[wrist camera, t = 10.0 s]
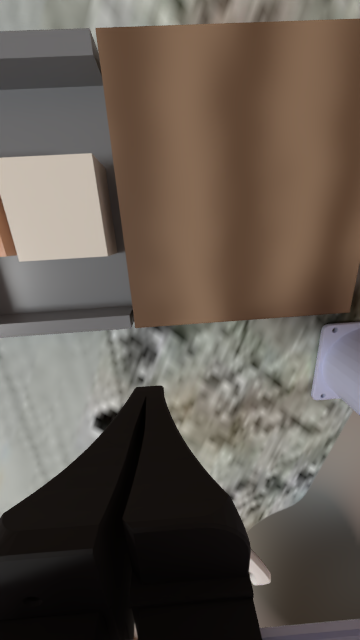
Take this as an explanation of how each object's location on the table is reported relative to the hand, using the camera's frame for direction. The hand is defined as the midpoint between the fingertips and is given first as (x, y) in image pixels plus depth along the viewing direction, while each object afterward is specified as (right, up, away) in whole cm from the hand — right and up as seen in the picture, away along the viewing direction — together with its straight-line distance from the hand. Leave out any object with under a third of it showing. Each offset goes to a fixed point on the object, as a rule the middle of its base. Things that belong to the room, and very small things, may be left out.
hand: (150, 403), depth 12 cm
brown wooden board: (+6, +13, +6) cm, 15 cm away
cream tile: (-6, +12, +5) cm, 14 cm away
